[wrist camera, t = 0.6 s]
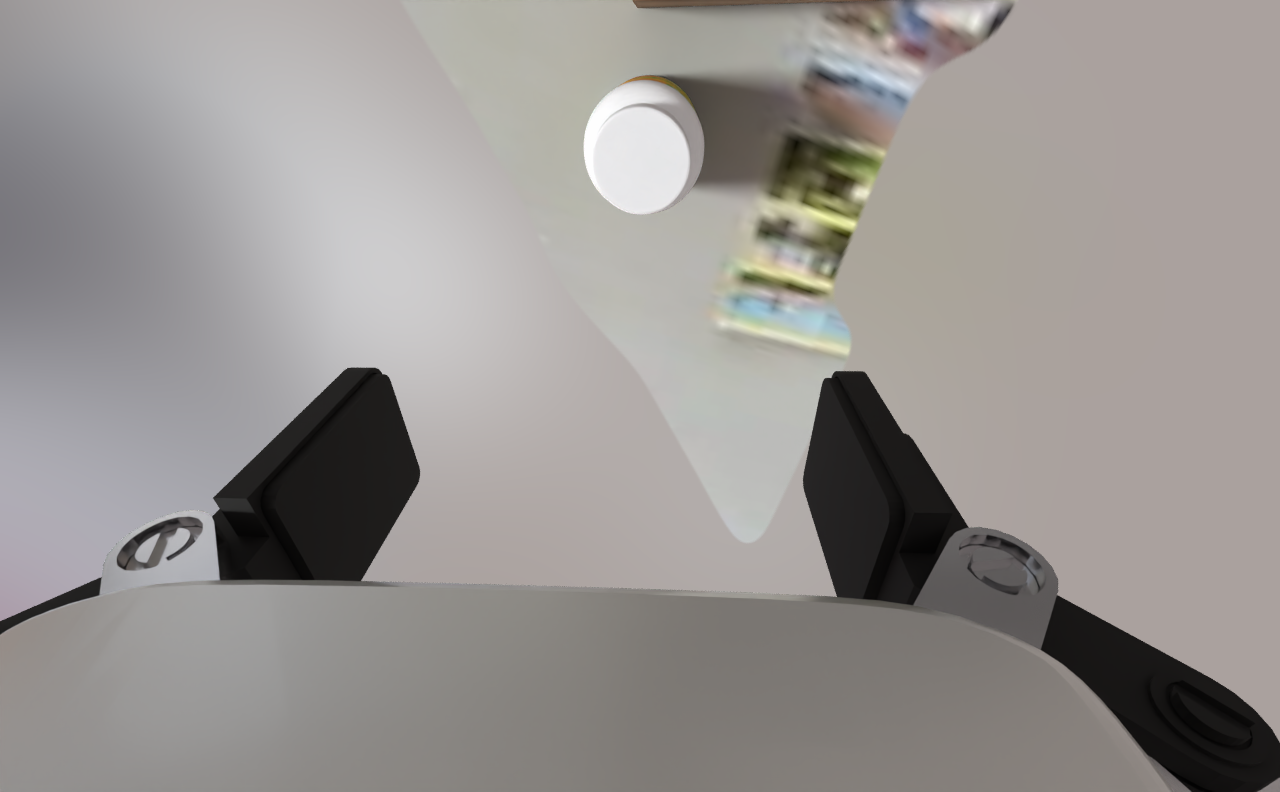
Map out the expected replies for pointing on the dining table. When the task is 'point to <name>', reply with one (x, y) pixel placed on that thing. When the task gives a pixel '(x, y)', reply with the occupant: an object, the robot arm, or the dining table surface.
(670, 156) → the supplement bottle
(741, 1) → the socket block
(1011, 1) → the dining table surface
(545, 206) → the dining table surface
